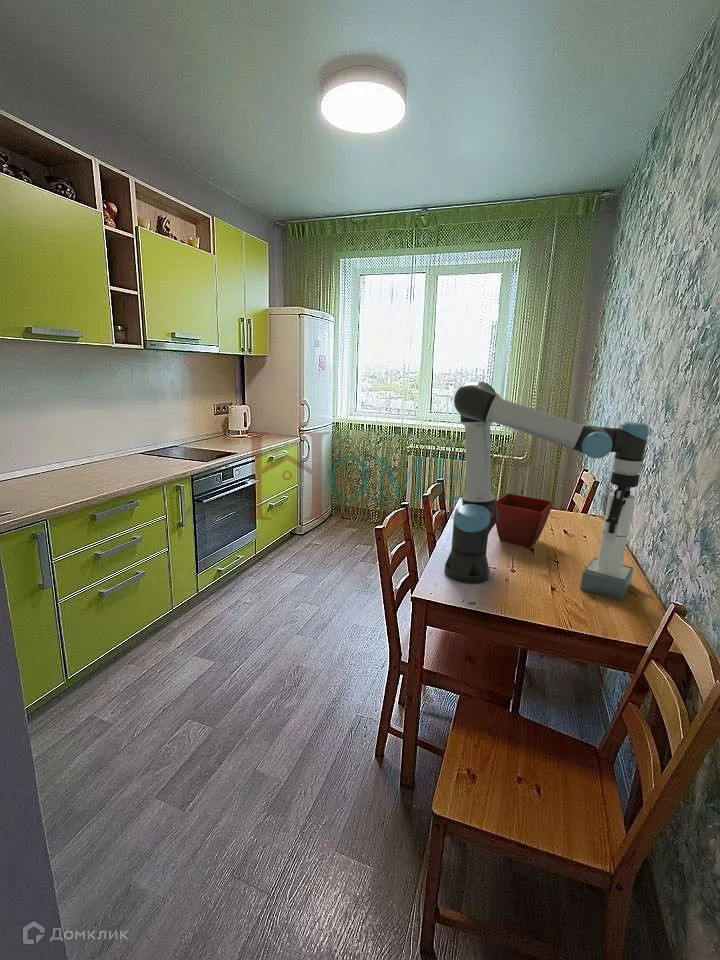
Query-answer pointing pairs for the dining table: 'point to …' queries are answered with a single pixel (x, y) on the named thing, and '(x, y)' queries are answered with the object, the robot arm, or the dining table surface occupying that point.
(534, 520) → the plant pot
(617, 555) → the cylindrical container
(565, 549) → the dining table surface
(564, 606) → the dining table surface
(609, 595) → the grey rectangular block
